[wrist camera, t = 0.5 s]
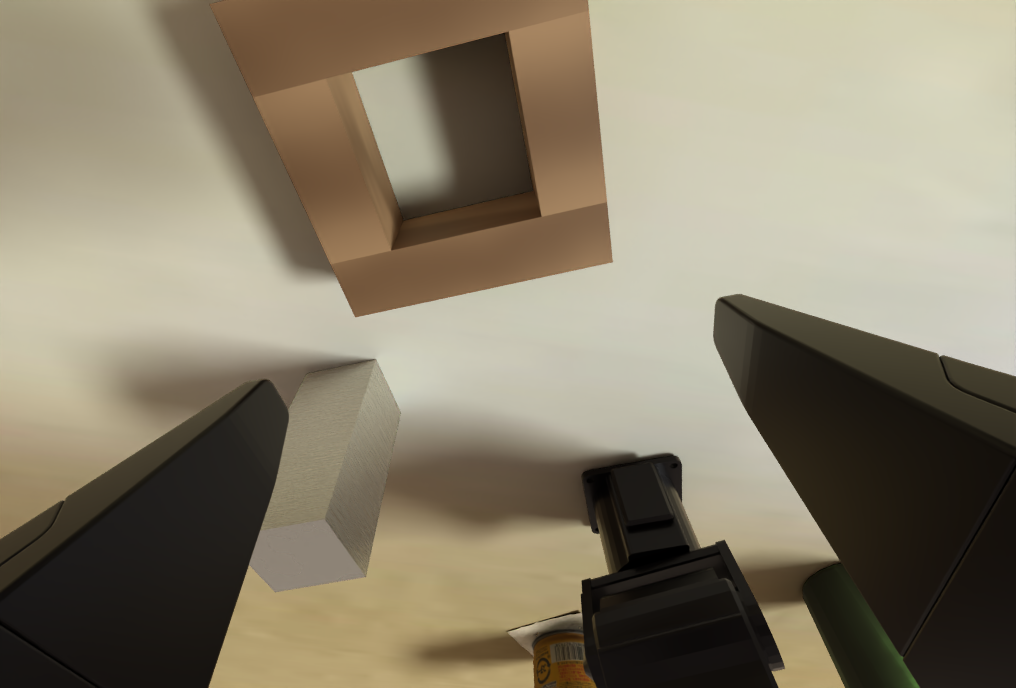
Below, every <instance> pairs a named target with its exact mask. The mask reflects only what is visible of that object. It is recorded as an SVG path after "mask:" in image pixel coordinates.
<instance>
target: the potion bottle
mask: <svg viewBox="0 0 1016 688" xmlns="http://www.w3.org/2000/svg"><path fill="white" fill-rule="evenodd" d="M803 599H804V601H805V603H806V605H807V607H808V609H809V611H810V614H811V616H812V618H813V620H814V622H815V624H816V626H817V628H818V631H819V633H820V635H821V637H822V639H823V641H824V643H825V646H826V648H827V650H828V652H829V654H830V656H831V658H832V661H833V663H834V665H835V667H836V669H837V671H838V673H839V675H840V678H841V680H842V682H843V684H844V686H845V688H920V687H919V686H918V684H917V682H916V681H915V679H914V678H913V676H912V675H911V673H910V671H909V670H908V668H907V667H906V665H905V663H904V662H903V657H902V656H900V655H899V653H898V652H897V650H896V648H895V647H894V645H893V644H892V642H891V640H890V639H889V637H888V636H887V634H886V633H885V631H884V629H883V628H882V626H881V625H880V623H879V621H878V620H877V618H876V617H875V615H874V613H873V612H872V610H871V609H870V607H869V606H868V604H867V602H866V601H865V599H864V598H863V596H862V594H861V593H860V591H859V590H858V588H857V586H856V585H855V583H854V582H853V580H852V579H851V577H850V575H849V574H848V572H847V571H846V569H845V567H844V566H843V564H842V563H841V564H836V565H832V566H830V567H827V568H825V569H823V570H820V571H818V572H817V573H816V574H814V575H813V576H811V577H810V578H809V579H808V580H807V582H806V583H805V585H804V586H803Z"/></svg>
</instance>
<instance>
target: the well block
mask: <svg viewBox="0 0 1016 688" xmlns="http://www.w3.org/2000/svg"><path fill="white" fill-rule="evenodd" d="M210 7H211V9H212V11H213V13H214V15H215V17H216V19H217V22H218V24H219V26H220V28H221V30H222V32H223V34H224V37H225V39H226V41H227V43H228V45H229V47H230V50H231V52H232V54H233V56H234V58H235V60H236V62H237V65H238V67H239V69H240V71H241V73H242V75H243V77H244V80H245V82H246V84H247V86H248V88H249V90H250V92H251V95H252V97H253V99H254V101H255V103H256V105H257V107H258V110H259V112H260V114H261V116H262V118H263V120H264V122H265V125H266V127H267V129H268V131H269V133H270V135H271V138H272V140H273V142H274V144H275V146H276V148H277V150H278V153H279V155H280V157H281V159H282V161H283V163H284V165H285V168H286V170H287V172H288V174H289V176H290V178H291V180H292V183H293V185H294V187H295V189H296V191H297V193H298V195H299V198H300V200H301V202H302V204H303V206H304V208H305V210H306V213H307V215H308V217H309V219H310V221H311V223H312V226H313V228H314V230H315V232H316V234H317V236H318V238H319V241H320V243H321V245H322V247H323V249H324V251H325V253H326V256H327V258H328V260H329V262H330V264H331V266H332V268H333V271H334V273H335V275H336V277H337V279H338V281H339V283H340V286H341V288H342V290H343V292H344V294H345V296H346V298H347V301H348V303H349V305H350V307H351V309H352V311H353V314H354V316H355V317H359V316H364V315H368V314H373V313H378V312H382V311H387V310H392V309H396V308H401V307H406V306H410V305H415V304H420V303H424V302H429V301H434V300H438V299H443V298H448V297H452V296H457V295H462V294H466V293H471V292H476V291H480V290H485V289H490V288H494V287H499V286H504V285H508V284H513V283H518V282H522V281H527V280H532V279H536V278H541V277H546V276H550V275H555V274H560V273H564V272H569V271H573V270H578V269H583V268H587V267H592V266H597V265H601V264H606V263H611V262H613V261H612V250H611V240H610V229H609V219H608V208H607V198H606V187H605V177H604V166H603V155H602V145H601V134H600V124H599V113H598V103H597V92H596V82H595V71H594V61H593V50H592V39H591V29H590V18H589V8H588V0H224V1H220V2H216V3H213V4H210ZM501 33H505V38H506V43H507V49H508V54H509V60H510V65H511V71H512V76H513V82H514V87H515V93H516V98H517V104H518V109H519V115H520V120H521V126H522V131H523V137H524V142H525V148H526V153H527V159H528V164H529V170H530V175H531V181H532V186H533V191H530V192H526V193H522V194H517V195H513V196H509V197H504V198H500V199H495V200H491V201H487V202H482V203H478V204H474V205H469V206H465V207H461V208H456V209H452V210H448V211H443V212H439V213H435V214H430V215H426V216H422V217H417V218H413V219H408V220H403V218H402V215H401V212H400V209H399V206H398V203H397V200H396V198H395V195H394V192H393V189H392V186H391V183H390V180H389V178H388V175H387V172H386V169H385V166H384V163H383V160H382V158H381V155H380V152H379V149H378V146H377V143H376V140H375V138H374V135H373V132H372V129H371V126H370V123H369V120H368V118H367V115H366V112H365V109H364V106H363V103H362V100H361V98H360V95H359V92H358V89H357V86H356V83H355V80H354V77H353V75H352V72H354V71H358V70H362V69H365V68H369V67H373V66H377V65H381V64H385V63H389V62H392V61H396V60H400V59H404V58H408V57H412V56H416V55H420V54H423V53H427V52H431V51H435V50H439V49H443V48H447V47H450V46H454V45H458V44H462V43H466V42H470V41H474V40H477V39H481V38H485V37H489V36H493V35H497V34H501Z"/></svg>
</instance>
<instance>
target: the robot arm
mask: <svg viewBox="0 0 1016 688" xmlns="http://www.w3.org/2000/svg"><path fill="white" fill-rule="evenodd" d="M713 337H714V343H715V346H716V348H717V351H718V353H719V355H720V357H721V359H722V361H723V363H724V366H725V368H726V370H727V372H728V374H729V376H730V379H731V381H732V383H733V385H734V387H735V389H736V391H737V394H738V396H739V398H740V400H741V402H742V404H743V406H744V408H745V410H746V411H747V413H748V415H749V416H750V418H751V420H752V421H753V423H754V424H755V426H756V428H757V429H758V431H759V432H760V434H761V436H762V437H763V439H764V440H765V442H766V443H767V445H768V447H769V448H770V450H771V451H772V453H773V455H774V456H775V458H776V459H777V461H778V463H779V464H780V466H781V467H782V469H783V470H784V472H785V474H786V475H787V477H788V478H789V480H790V482H791V483H792V485H793V486H794V488H795V490H796V491H797V493H798V494H799V496H800V498H801V499H802V501H803V502H804V504H805V505H806V507H807V509H808V510H809V512H810V513H811V515H812V517H813V518H814V520H815V521H816V523H817V525H818V526H819V528H820V529H821V531H822V532H823V534H824V536H825V537H826V539H827V540H828V542H829V544H830V545H831V547H832V548H833V550H834V552H835V553H836V555H837V556H838V558H839V559H840V561H841V563H842V564H843V566H844V567H845V569H846V571H847V572H848V574H849V575H850V577H851V579H852V580H853V582H854V583H855V585H856V586H857V588H858V590H859V591H860V593H861V594H862V596H863V598H864V599H865V601H866V602H867V604H868V606H869V607H870V609H871V610H872V612H873V613H874V615H875V617H876V618H877V620H878V621H879V623H880V625H881V626H882V628H883V629H884V631H885V633H886V634H887V636H888V637H889V639H890V640H891V642H892V644H893V645H894V647H895V648H896V650H897V652H898V653H899V655H900V656H902V657H903V662H904V663H905V665H906V667H907V668H908V670H909V671H910V673H911V675H912V676H913V678H914V679H915V681H916V682H917V684H918V686H919V687H920V688H1016V376H1012V375H1009V374H1005V373H1002V372H999V371H995V370H992V369H988V368H985V367H981V366H978V365H974V364H971V363H967V362H964V361H961V360H958V359H954V358H951V357H948V356H944V355H943V356H940V357H939V355H938V354H937V353H934V352H931V351H927V350H924V349H921V348H918V347H914V346H911V345H908V344H904V343H901V342H898V341H894V340H891V339H888V338H884V337H881V336H878V335H874V334H871V333H868V332H864V331H861V330H858V329H855V328H851V327H848V326H845V325H841V324H838V323H835V322H831V321H828V320H825V319H821V318H818V317H815V316H812V315H808V314H805V313H802V312H798V311H795V310H792V309H788V308H785V307H782V306H778V305H775V304H772V303H768V302H765V301H762V300H759V299H755V298H752V297H749V296H745V295H742V294H735V295H730V296H724V297H720V298H719V299H718V300H717V301H716V304H715V315H714V331H713ZM288 423H289V412H288V409H287V407H286V405H285V403H284V402H283V400H282V398H281V396H280V395H279V393H278V391H277V390H276V388H275V386H274V385H273V383H272V382H271V381H270V380H267V379H260V380H254V381H249V382H246V383H244V384H243V385H241V386H240V387H238V388H236V389H235V390H233V391H232V392H230V393H229V394H227V395H225V396H224V397H222V398H221V399H219V400H218V401H216V402H215V403H213V404H211V405H210V406H208V407H207V408H205V409H204V410H202V411H200V412H199V413H197V414H196V415H194V416H193V417H191V418H190V419H188V420H186V421H185V422H183V423H182V424H180V425H179V426H177V427H176V428H174V429H172V430H171V431H169V432H168V433H166V434H165V435H163V436H161V437H160V438H158V439H157V440H155V441H154V442H152V443H151V444H149V445H147V446H146V447H144V448H143V449H141V450H140V451H138V452H136V453H135V454H133V455H132V456H130V457H129V458H127V459H126V460H124V461H122V462H121V463H119V464H118V465H116V466H115V467H113V468H111V469H110V470H108V471H107V472H105V473H104V474H102V475H101V476H99V477H97V478H96V479H94V480H93V481H91V482H90V483H88V484H87V485H85V486H83V487H82V488H80V489H79V490H77V491H76V492H74V493H72V494H71V495H69V496H68V497H67V498H66V499H65V501H60V502H58V503H57V504H55V505H54V506H52V507H50V508H49V509H47V510H46V511H44V512H43V513H41V514H40V515H38V516H36V517H35V518H33V519H32V520H30V521H28V522H27V523H25V524H24V525H22V526H20V527H19V528H17V529H16V530H14V531H12V532H11V533H9V534H8V535H6V536H4V537H3V538H1V539H0V688H208V687H209V684H210V681H211V678H212V675H213V672H214V669H215V666H216V663H217V660H218V657H219V654H220V651H221V648H222V645H223V642H224V639H225V636H226V633H227V630H228V627H229V624H230V621H231V618H232V615H233V612H234V609H235V606H236V602H237V599H238V596H239V593H240V590H241V587H242V584H243V581H244V578H245V575H246V572H247V569H248V566H249V563H250V560H251V557H252V554H253V551H254V548H255V545H256V542H257V539H258V536H259V533H260V530H261V527H262V524H263V521H264V518H265V515H266V512H267V509H268V505H269V502H270V499H271V496H272V493H273V490H274V486H275V483H276V479H277V475H278V470H279V465H280V461H281V456H282V451H283V446H284V442H285V437H286V432H287V427H288ZM582 481H583V487H584V492H585V497H586V503H587V508H588V513H589V519H590V524H591V529H592V532H593V533H596V534H600V537H601V542H602V546H603V550H604V554H605V559H606V563H607V567H608V571H609V575H605V576H602V577H598V578H595V579H591V578H588V579H585V580H582V594H581V605H582V620H583V635H584V658H583V667H584V671H585V674H586V675H587V676H588V677H589V678H591V679H592V680H593V681H594V683H595V685H596V687H597V688H778V685H777V683H776V681H775V679H774V676H773V674H772V672H771V671H777V670H782V669H785V666H784V663H783V660H782V658H781V655H780V653H779V650H778V648H777V645H776V643H775V641H774V638H773V636H772V634H771V631H770V629H769V627H768V625H767V622H766V620H765V618H764V616H763V614H762V612H761V610H760V607H759V605H758V603H757V601H756V599H755V597H754V595H753V593H752V592H751V590H750V588H749V586H748V584H747V582H746V580H745V578H744V576H743V574H742V572H741V570H740V568H739V567H738V565H737V563H736V561H735V559H734V557H733V555H732V553H731V551H730V549H729V547H728V545H727V543H726V542H725V540H722V541H719V542H715V543H716V544H714V545H711V546H707V547H704V548H701V547H700V545H699V543H698V540H697V538H696V535H695V533H694V531H693V528H692V526H691V524H690V521H689V519H688V517H687V514H686V512H685V509H684V507H683V505H682V464H681V461H680V459H679V458H678V457H677V456H669V457H663V458H658V459H652V460H646V461H641V462H635V463H630V464H624V465H619V466H613V467H607V468H602V469H596V470H591V471H587V472H584V473H583V474H582Z"/></svg>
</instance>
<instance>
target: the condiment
mask: <svg viewBox="0 0 1016 688" xmlns="http://www.w3.org/2000/svg"><path fill="white" fill-rule="evenodd" d="M538 632H539V634H537V633H538ZM508 633H509V634H510V636H511V637H513V638H514V639H515V640H516V642H518V643H519V644H520V645H521V646H522V647H523V648H525V649H526V650H527V651H528V652H530V654H531V655H533V656H534V660H533V664H534V684H535V685H534V688H597V687H596V685H595V683H594V681H593V680H592V679H591V678H589V677H588V676H587V675H586V674H585V671H584V667H583V658H584V635H583V620H582V613H578V614H574V615H572V614H570V615H567V616H562V617H559V618H553V619H549V620H546V621H543V622H536V623H535V624H533V625H530V626H526V627H521V628H519V629H516V630H513V631H509V632H508ZM536 635H538V636H536Z"/></svg>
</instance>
